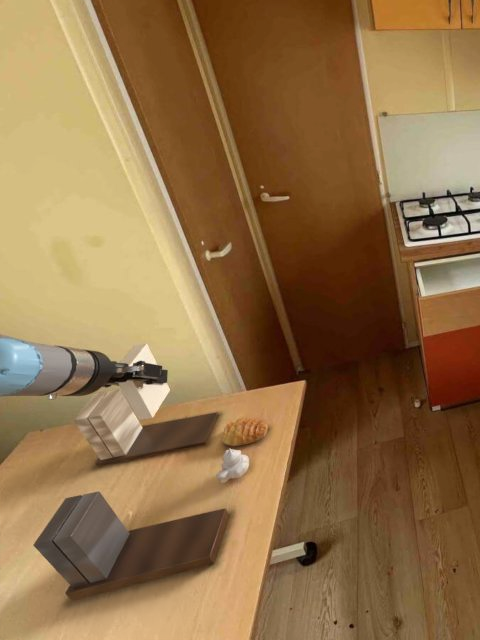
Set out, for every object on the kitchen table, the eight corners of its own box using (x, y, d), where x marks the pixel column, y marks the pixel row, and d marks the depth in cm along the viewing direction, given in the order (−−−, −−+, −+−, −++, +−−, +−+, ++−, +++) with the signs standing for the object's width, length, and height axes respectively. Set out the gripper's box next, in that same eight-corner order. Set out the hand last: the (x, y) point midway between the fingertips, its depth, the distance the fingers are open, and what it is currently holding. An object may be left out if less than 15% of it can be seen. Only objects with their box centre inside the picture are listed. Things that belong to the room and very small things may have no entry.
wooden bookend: (96, 466, 96) (67, 423, 90) (119, 433, 104) (93, 391, 98) (205, 444, 101) (184, 402, 95) (218, 414, 109) (200, 374, 103)
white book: (139, 420, 85) (111, 371, 79) (157, 391, 92) (133, 345, 86) (152, 418, 86) (126, 369, 80) (170, 389, 93) (146, 343, 87)
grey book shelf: (71, 601, 73) (24, 551, 66) (102, 545, 81) (63, 495, 74) (214, 564, 78) (184, 514, 71) (230, 515, 86) (204, 465, 79)
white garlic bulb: (258, 466, 96) (247, 443, 92) (230, 492, 91) (219, 468, 87) (241, 458, 98) (230, 434, 94) (214, 482, 93) (201, 458, 89)
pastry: (273, 423, 107) (269, 412, 105) (261, 445, 101) (257, 435, 99) (235, 425, 106) (230, 414, 104) (221, 448, 100) (215, 437, 99)
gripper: (7, 405, 66) (113, 402, 88) (123, 386, 70) (197, 389, 91) (15, 356, 68) (116, 366, 90) (127, 341, 72) (198, 354, 94)
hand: (156, 377), depth 91 cm, fingers closed on white book, 2 cm apart
